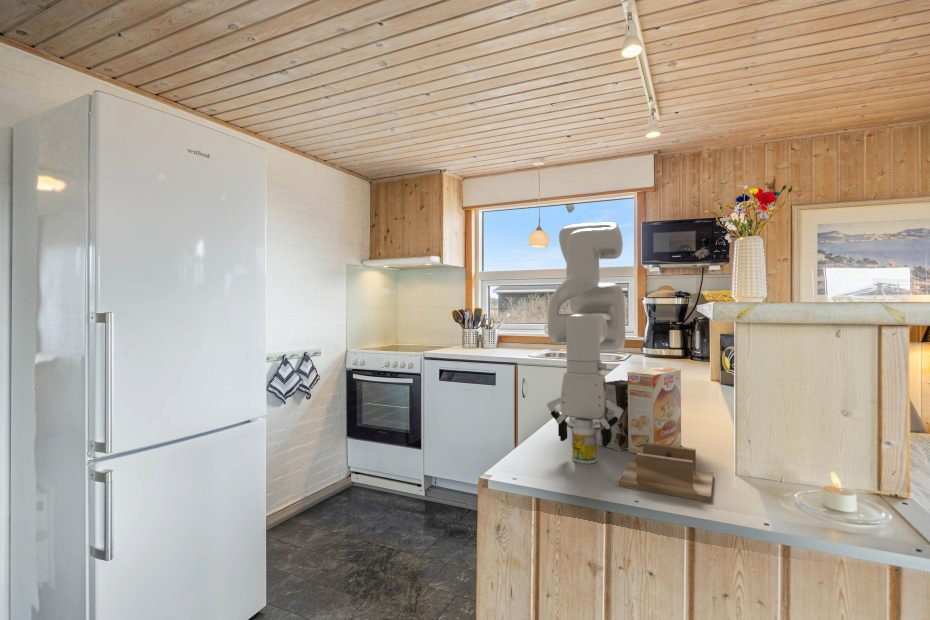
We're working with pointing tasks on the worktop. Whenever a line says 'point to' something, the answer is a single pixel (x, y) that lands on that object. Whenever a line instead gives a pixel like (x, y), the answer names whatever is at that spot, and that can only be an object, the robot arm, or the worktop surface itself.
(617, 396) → the coffee box
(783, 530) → the worktop surface
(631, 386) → the coffeecake box
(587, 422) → the supplement bottle
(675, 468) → the holder
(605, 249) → the robot arm
